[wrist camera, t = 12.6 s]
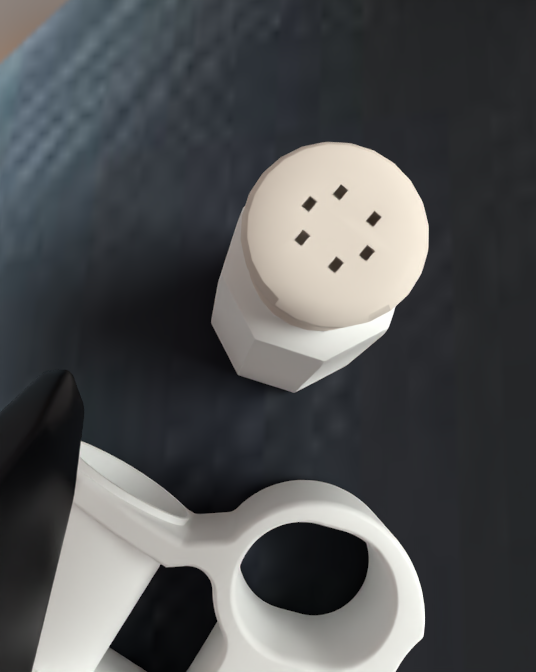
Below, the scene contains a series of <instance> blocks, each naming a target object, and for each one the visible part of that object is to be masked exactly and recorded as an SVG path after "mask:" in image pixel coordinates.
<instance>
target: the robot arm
mask: <svg viewBox="0 0 536 672" xmlns="http://www.w3.org/2000/svg"><path fill="white" fill-rule="evenodd" d="M83 419H84V405H83V401H82V398H81V396H80V393H79V391H78V388H77V385H76V383H75V380H74V377H73V375H72V374H71V372H70V371H67V370H56V371H46V372H44V373H42V374H41V375H40V376H39V377H38V378H37V379H36V380H34V381H33V382H32V383H31V384H30V385H29V386H28V387H27V388H26V389H25V390H24V391H23V392H22V393H20V394H19V395H18V396H17V397H16V398H15V399H14V400H13V401H12V402H11V403H10V404H9V405H8V406H6V407H5V408H4V409H3V410H2V411H1V412H0V672H32V669H33V665H34V661H35V657H36V652H37V648H38V644H39V640H40V636H41V632H42V628H43V623H44V619H45V615H46V611H47V607H48V603H49V599H50V595H51V590H52V586H53V582H54V578H55V574H56V570H57V566H58V562H59V557H60V553H61V549H62V545H63V541H64V537H65V533H66V529H67V524H68V520H69V516H70V512H71V508H72V503H73V498H74V493H75V486H76V479H77V470H78V462H79V453H80V445H81V436H82V428H83Z"/></svg>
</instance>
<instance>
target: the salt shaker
mask: <svg viewBox="0 0 536 672" xmlns="http://www.w3.org/2000/svg"><path fill="white" fill-rule="evenodd" d="M428 233H429V226H428V221H427V217H426V213H425V209H424V205H423V202H422V200H421V198H420V197H419V195H418V193H417V191H416V189H415V187H414V186H413V184H412V182H411V181H410V180H409V179H408V177H407V176H406V175H405V174H404V173H403V172H402V171H401V170H400V169H399V168H398V167H397V166H396V165H395V164H394V163H393V162H391V161H389V160H388V159H386V158H385V157H383V156H381V155H380V154H378V153H377V152H375V151H373V150H370V149H367V148H364V147H361V146H358V145H355V144H351V143H338V142H323V143H318V144H313V145H308V146H303V147H301V148H299V149H297V150H295V151H293V152H291V153H289V154H287V155H285V156H283V157H281V158H279V159H278V160H277V161H276V162H275V163H274V164H273V165H272V166H270V167H269V168H268V169H267V170H266V171H265V172H264V173H263V174H262V175H261V177H260V178H259V180H258V181H257V183H256V184H255V186H254V187H253V189H252V190H251V192H250V193H249V196H248V199H247V202H246V205H245V207H244V208H243V210H242V212H241V215H240V217H239V220H238V222H237V226H236V229H235V232H234V235H233V238H232V241H231V244H230V247H229V250H228V253H227V256H226V259H225V262H224V265H223V269H222V272H221V275H220V278H219V281H218V286H217V292H216V297H215V303H214V308H213V314H212V319H211V324H212V326H213V328H214V330H215V332H216V334H217V336H218V337H219V339H220V341H221V343H222V345H223V347H224V349H225V351H226V353H227V355H228V357H229V359H230V361H231V363H232V365H233V367H234V369H235V370H236V372H237V374H238V375H239V376H242V377H246V378H249V379H252V380H255V381H258V382H261V383H265V384H268V385H271V386H274V387H277V388H280V389H284V390H287V391H290V392H293V393H295V392H297V391H299V390H301V389H303V388H304V387H306V386H308V385H310V384H312V383H314V382H316V381H318V380H320V379H322V378H323V377H325V376H327V375H329V374H331V373H333V372H335V371H337V370H339V369H341V368H342V367H344V366H346V365H347V364H349V363H350V362H351V361H352V360H353V359H355V358H356V357H357V356H358V355H359V354H361V353H362V352H363V351H364V350H366V349H367V348H368V347H369V346H370V345H372V344H373V343H374V342H375V341H376V340H378V339H379V338H380V337H381V336H382V335H383V334H384V333H385V332H386V330H387V329H388V328H389V325H390V322H391V319H392V316H393V313H394V309H395V306H396V305H397V304H398V303H400V302H401V301H402V300H403V299H404V298H405V297H406V296H407V295H408V294H409V293H410V291H411V289H412V288H413V286H414V285H415V283H416V281H417V280H418V278H419V276H420V275H421V273H422V270H423V266H424V263H425V259H426V256H427V253H428Z"/></svg>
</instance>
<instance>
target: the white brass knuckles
mask: <svg viewBox="0 0 536 672" xmlns="http://www.w3.org/2000/svg"><path fill="white" fill-rule="evenodd" d="M294 522H310V523H315V524H319V525H323V526H327V527H330V528H334V529H338V530H341V531H345V532H348V533H351V534H353V535H355V536H357V537H359V538H360V539H362V540H363V541H365V542H366V544H367V548H368V555H369V564H368V571H367V575H366V578H365V581H364V583H363V585H362V587H361V589H360V590H359V592H358V593H357V594H356V596H355V597H354V598H353V599H352V600H351V601H350V602H349V603H347V604H346V605H345V606H343V607H342V608H340V609H338V610H336V611H334V612H331V613H328V614H323V615H304V614H300V613H296V612H293V611H289V610H285V609H281V608H278V607H275V606H272V605H270V604H268V603H266V602H264V601H263V600H261V599H260V598H259V597H258V596H256V595H255V594H254V593H253V592H252V590H251V589H250V588H249V586H248V585H247V583H246V582H245V580H244V577H243V575H242V572H241V569H240V565H241V562H242V560H243V558H244V556H245V554H246V553H247V551H248V550H249V548H250V547H251V546H252V545H253V543H254V542H255V541H256V540H257V539H258V538H260V537H261V536H262V535H263V534H265V533H266V532H268V531H270V530H271V529H273V528H276V527H278V526H281V525H284V524H288V523H294ZM161 564H162V565H163V566H165V567H166V568H167V567H178V566H192V567H196V568H198V569H200V570H202V571H203V572H204V573H205V574H206V575H207V576H208V578H209V579H210V581H211V584H212V594H213V604H214V610H215V614H216V618H217V623H216V625H215V626H214V628H213V630H212V631H211V633H210V634H209V636H208V638H207V639H206V641H205V643H204V644H203V646H202V648H201V649H200V651H199V653H198V654H197V656H196V657H195V659H194V661H193V662H192V664H191V666H190V667H189V669H188V670H187V671H186V672H396V670H397V668H398V666H399V665H400V663H401V662H402V660H403V659H404V657H405V656H406V655H407V653H408V652H409V651H410V650H411V649H412V648H413V647H414V645H415V644H416V643H418V642H419V641H420V640H421V639H422V638H423V636H424V626H425V610H424V600H423V594H422V590H421V586H420V582H419V579H418V576H417V573H416V571H415V569H414V566H413V564H412V562H411V560H410V558H409V556H408V555H407V553H406V551H405V550H404V548H403V547H402V546H401V544H400V543H399V542H398V540H397V539H396V538H395V537H394V536H393V534H392V533H391V532H390V531H389V530H388V529H387V528H386V527H385V525H384V524H383V523H382V522H381V521H380V520H379V519H378V517H377V516H376V515H375V514H374V513H373V512H372V511H371V510H370V509H369V507H368V506H366V505H365V504H364V503H363V502H362V501H361V500H359V499H358V498H357V497H355V496H354V495H352V494H351V493H349V492H347V491H345V490H344V489H341V488H339V487H337V486H334V485H331V484H328V483H324V482H320V481H312V480H294V481H287V482H282V483H278V484H275V485H272V486H269V487H267V488H265V489H263V490H261V491H259V492H257V493H255V494H254V495H252V496H251V497H249V498H248V499H247V500H246V501H244V502H243V503H242V504H241V505H240V506H239V507H238V508H237V509H235V510H234V511H231V512H222V513H208V514H195V513H193V512H192V511H190V510H188V509H187V508H186V507H185V506H184V505H183V504H182V503H180V502H179V501H178V500H177V499H176V498H175V497H174V496H172V495H171V494H170V493H169V492H168V491H166V490H165V489H164V488H163V487H161V486H160V485H159V484H157V483H156V482H154V481H153V480H152V479H150V478H149V477H147V476H146V475H144V474H143V473H141V472H140V471H138V470H137V469H135V468H133V467H132V466H130V465H128V464H127V463H125V462H123V461H122V460H120V459H118V458H116V457H114V456H112V455H110V454H109V453H107V452H105V451H103V450H101V449H98V448H96V447H94V446H92V445H90V444H87V443H85V442H82V441H81V445H80V453H79V462H78V470H77V479H76V486H75V493H74V498H73V503H72V508H71V512H70V516H69V520H68V524H67V529H66V533H65V537H64V541H63V545H62V549H61V553H60V557H59V562H58V566H57V570H56V574H55V578H54V582H53V586H52V590H51V595H50V599H49V603H48V607H47V611H46V615H45V619H44V623H43V628H42V632H41V636H40V640H39V644H38V648H37V652H36V657H35V661H34V665H33V669H32V672H147V671H145V670H144V669H142V668H141V667H139V666H137V665H136V664H134V663H133V662H131V661H130V660H128V659H127V658H125V657H124V656H122V655H120V654H119V653H117V652H116V651H114V650H113V649H111V648H109V646H110V644H111V643H112V641H113V640H114V638H115V636H116V635H117V633H118V632H119V630H120V628H121V627H122V625H123V624H124V622H125V620H126V619H127V617H128V616H129V614H130V612H131V611H132V609H133V608H134V606H135V604H136V603H137V601H138V600H139V598H140V597H141V595H142V593H143V592H144V590H145V589H146V587H147V585H148V584H149V582H150V581H151V579H152V577H153V576H154V574H155V573H156V571H157V569H158V568H159V566H160V565H161Z"/></svg>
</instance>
